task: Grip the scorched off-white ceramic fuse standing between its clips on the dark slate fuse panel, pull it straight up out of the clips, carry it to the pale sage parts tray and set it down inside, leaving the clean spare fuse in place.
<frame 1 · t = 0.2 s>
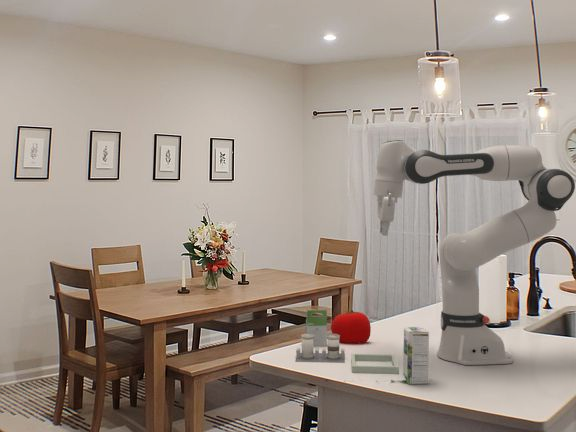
hand: (383, 234, 182), 39 cm above the counter, tool pointing down, fingers open, 8 cm apart
tray: (373, 370, 168), on the counter
tomato: (351, 344, 198), on the counter
fuse: (333, 357, 177), point 1 cm above the counter, touching holder
syrup box: (415, 381, 158), on the counter
holder: (320, 361, 177), on the counter
ink box: (316, 349, 192), on the counter
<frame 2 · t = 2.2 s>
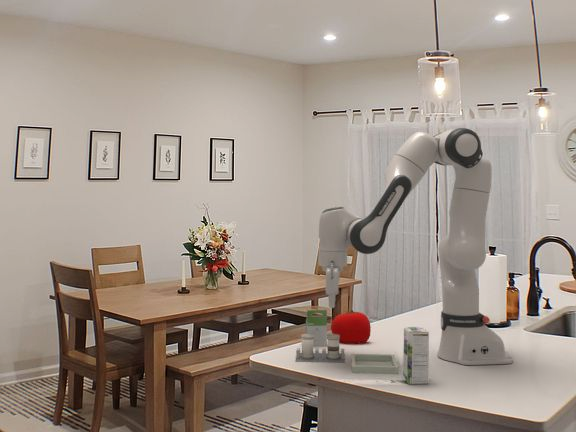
hand: (332, 304, 176), 18 cm above the counter, tool pointing down, fingers open, 8 cm apart
nothing on the counter moved.
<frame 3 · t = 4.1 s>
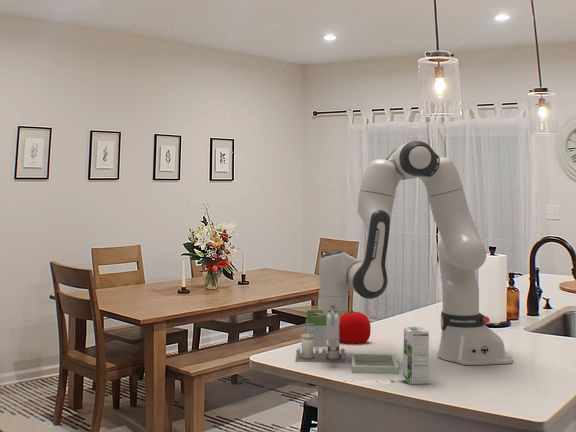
hand: (333, 347, 177), 4 cm above the counter, tool pointing down, fingers closed on fuse, 4 cm apart
fuse: (333, 357, 177), point 1 cm above the counter, touching gripper, holder
everything else where it was.
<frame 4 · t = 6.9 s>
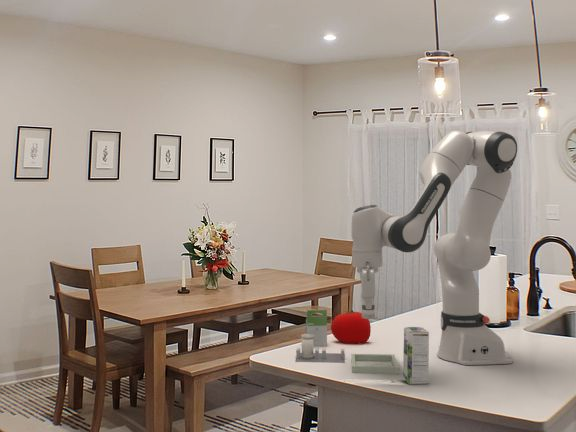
hand: (368, 307, 169), 18 cm above the counter, tool pointing down, fingers closed on fuse, 4 cm apart
fuse: (368, 317, 169), point 15 cm above the counter, touching gripper
everything else where it was.
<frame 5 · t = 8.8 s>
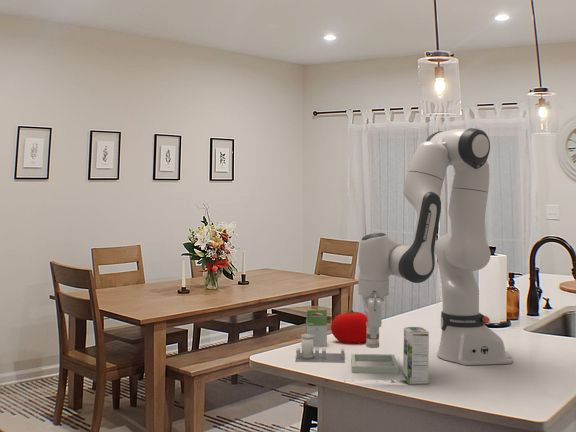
hand: (372, 335, 167), 10 cm above the counter, tool pointing down, fingers closed on fuse, 4 cm apart
fuse: (372, 346, 167), point 7 cm above the counter, touching gripper
everything else where it was.
when the fingers open (5 cm above the counter, at t = 10.2 s): fuse stays where it is, resting on tray.
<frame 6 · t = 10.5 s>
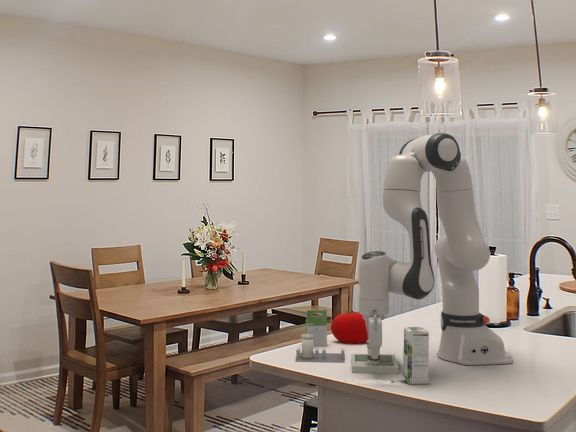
hand: (373, 354, 168), 5 cm above the counter, tool pointing down, fingers open, 7 cm apart
fuse: (373, 367, 168), point 1 cm above the counter, touching tray
everything else where it was.
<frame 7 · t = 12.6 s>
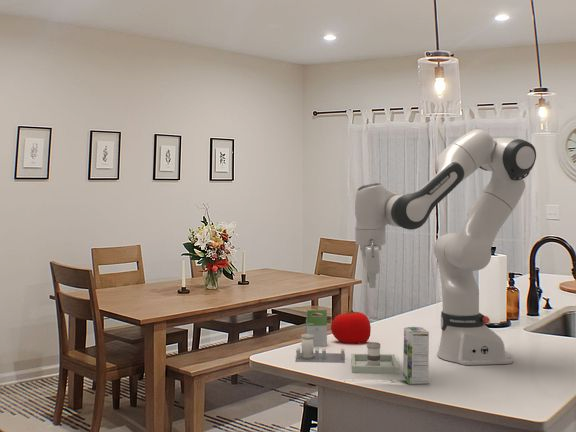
hand: (371, 285, 169), 25 cm above the counter, tool pointing down, fingers open, 8 cm apart
nothing on the counter moved.
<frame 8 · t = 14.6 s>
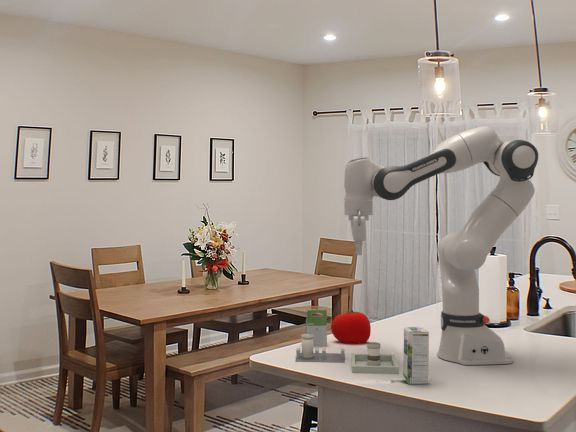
hand: (358, 253, 180), 33 cm above the counter, tool pointing down, fingers open, 8 cm apart
nothing on the counter moved.
at the end: fuse inside the target area on the tray (0.1 cm from its centre), point 0.8 cm above the tray's base; the gripper is holding nothing; fuse touching tray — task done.
